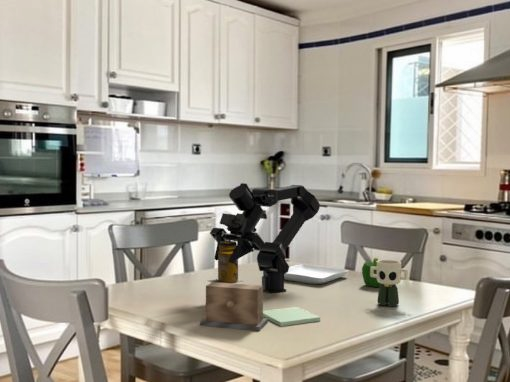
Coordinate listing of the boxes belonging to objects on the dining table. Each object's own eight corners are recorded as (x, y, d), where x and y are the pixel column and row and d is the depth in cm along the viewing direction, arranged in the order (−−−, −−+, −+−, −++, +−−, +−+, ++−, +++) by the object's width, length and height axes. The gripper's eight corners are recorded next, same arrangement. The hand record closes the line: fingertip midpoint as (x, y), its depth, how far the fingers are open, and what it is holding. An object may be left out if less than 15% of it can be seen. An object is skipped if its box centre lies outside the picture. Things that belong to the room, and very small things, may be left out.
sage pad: (296, 310, 163) (297, 306, 163) (320, 320, 153) (320, 317, 153) (259, 314, 158) (259, 311, 158) (280, 326, 147) (280, 322, 147)
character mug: (367, 305, 169) (368, 262, 168) (371, 300, 176) (372, 258, 175) (405, 309, 165) (406, 264, 165) (408, 304, 172) (409, 261, 171)
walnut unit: (199, 325, 147) (200, 286, 147) (210, 317, 155) (211, 280, 154) (259, 330, 143) (260, 291, 142) (267, 322, 151) (268, 284, 150)
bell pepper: (363, 282, 202) (363, 254, 202) (386, 284, 200) (387, 255, 199) (360, 287, 194) (360, 258, 194) (385, 289, 192) (385, 259, 191)
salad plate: (300, 271, 224) (300, 262, 223) (350, 278, 211) (350, 269, 211) (270, 280, 206) (270, 270, 206) (322, 288, 194) (322, 278, 194)
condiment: (244, 282, 171) (243, 242, 171) (221, 285, 166) (220, 244, 165) (229, 278, 177) (229, 239, 176) (206, 281, 172) (206, 242, 171)
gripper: (214, 201, 179) (187, 240, 172) (257, 205, 166) (230, 247, 159) (232, 224, 185) (207, 263, 178) (275, 229, 173) (250, 271, 165)
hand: (222, 260), depth 170 cm, fingers closed on condiment, 6 cm apart
